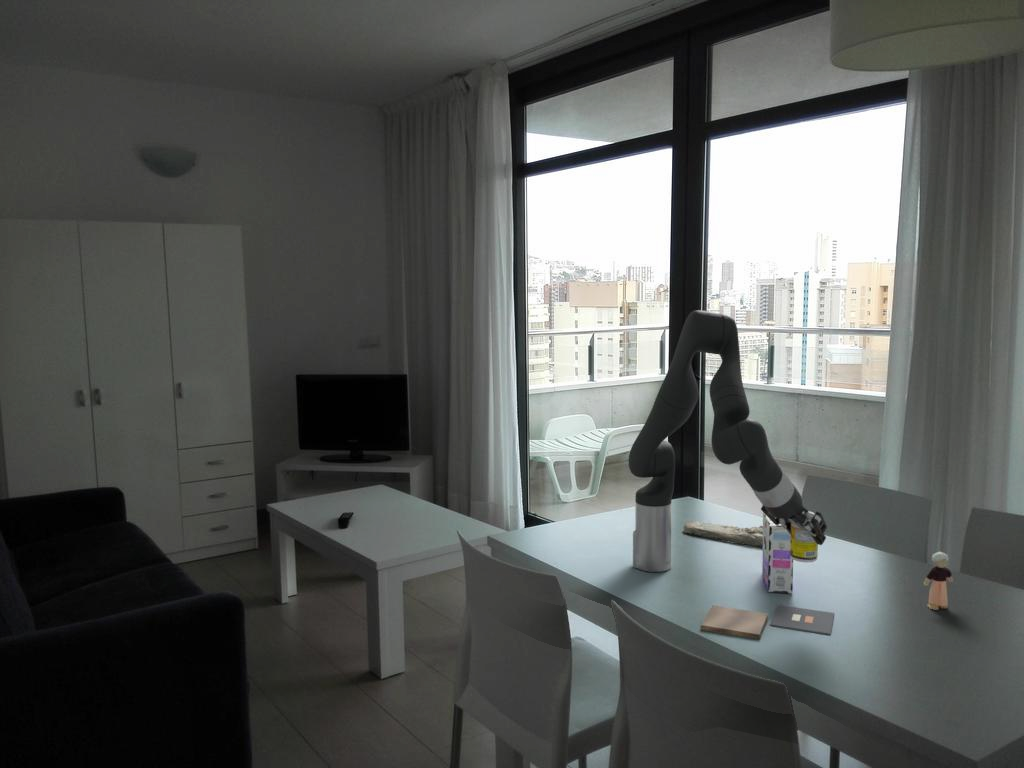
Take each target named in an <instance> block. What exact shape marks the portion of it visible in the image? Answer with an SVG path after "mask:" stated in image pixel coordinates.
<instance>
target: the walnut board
mask: <svg viewBox="0 0 1024 768" xmlns="http://www.w3.org/2000/svg"><path fill="white" fill-rule="evenodd" d="M768 619H769V613H766V612H759V611H753V610H752V611H751V610H745V609H740V608H734V607H733V608H732V607H725V606H719V605H711V607H710V609H709V610H708V612H707V613H706V616H705V617H704V618H703V621H702V623H701V624H700V630H701V631H705V632H706V631H708V632H713V633H719V634H725V635H731V636H738V637H742V638H743V637H744V638H749V639H756V640H761V639H760V638H761V637H762V634H763V631H764V629H765V627H766V625H767V621H768Z"/></svg>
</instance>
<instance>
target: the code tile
mask: <svg viewBox="0 0 1024 768" xmlns="http://www.w3.org/2000/svg"><path fill="white" fill-rule="evenodd" d="M775 607H776V608H775V610H774V613H773V615H772V618H771V621H770V624H769V626H771V627H777V628H782V629H789V630H796V631H803V632H807V633H815V634H821V635H828V636H831V633H832V628H833V623H834V617H835V612H831V611H830V612H829V611H822V610H816V609H809V608H804V607H803V608H802V607H795V606H787V605H781V604H777V605H776V606H775Z"/></svg>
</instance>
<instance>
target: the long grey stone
mask: <svg viewBox="0 0 1024 768" xmlns="http://www.w3.org/2000/svg"><path fill="white" fill-rule="evenodd" d="M683 532H684V533H685V534H686V533H689V534H688V535H693V534H694V535H693V536H697V535H698V537H703V538H706V537H708V539H711V538H712V539H711V540H714V539H716V540H717V539H719V540H718V541H721V540H724V541H723V542H726V541H730V542H729V543H731V542H733V543H732V544H740V543H742V544H743V543H744V544H743V545H750V546H752V547H757V546H760V547H759V548H763V525H759V526H751V527H738V526H733V525H732V526H731V525H724V524H716V523H710V522H708V523H707V522H703V521H699V520H698V521H696V520H695V521H689V522H686V523H685V524H684V525H683Z"/></svg>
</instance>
